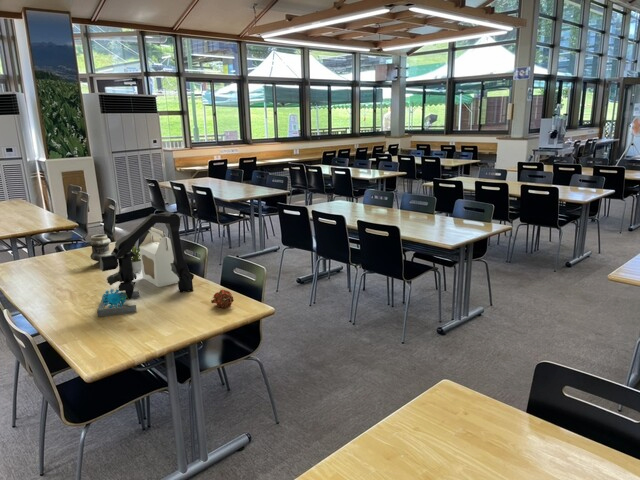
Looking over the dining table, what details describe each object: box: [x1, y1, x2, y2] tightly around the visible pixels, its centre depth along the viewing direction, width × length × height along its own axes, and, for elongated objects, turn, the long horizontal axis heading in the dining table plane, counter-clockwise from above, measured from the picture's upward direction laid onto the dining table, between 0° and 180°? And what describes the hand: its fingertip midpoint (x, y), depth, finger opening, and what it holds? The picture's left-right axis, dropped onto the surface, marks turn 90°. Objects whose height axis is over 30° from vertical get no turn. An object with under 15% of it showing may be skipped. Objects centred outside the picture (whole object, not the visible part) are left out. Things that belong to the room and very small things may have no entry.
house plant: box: [131, 244, 142, 273], centre depth 264 cm, size 14×14×16 cm
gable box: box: [138, 226, 179, 288], centre depth 246 cm, size 22×13×28 cm, turn 41°
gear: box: [101, 288, 128, 308], centre depth 213 cm, size 11×6×10 cm
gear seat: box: [96, 290, 140, 318], centre depth 212 cm, size 16×21×3 cm
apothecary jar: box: [88, 233, 112, 268], centre depth 278 cm, size 12×12×18 cm
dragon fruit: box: [210, 289, 235, 309], centre depth 209 cm, size 8×8×12 cm
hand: (130, 299), depth 216 cm, fingers closed, pressing on gear
